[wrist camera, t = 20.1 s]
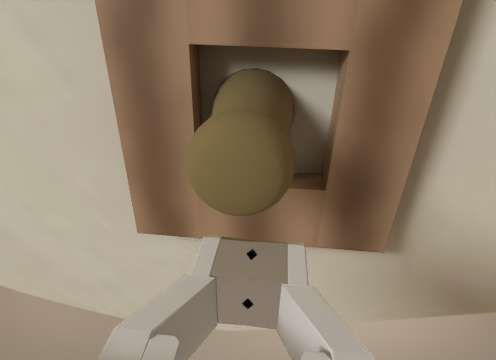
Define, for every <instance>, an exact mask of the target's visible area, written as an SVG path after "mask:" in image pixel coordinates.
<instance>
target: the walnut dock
mask: <svg viewBox="0 0 496 360" xmlns="http://www.w3.org/2000/svg"><path fill="white" fill-rule="evenodd" d="M462 2H463V0H95V4H96V10H97V15H98V20H99V26H100V31H101V37H102V42H103V48H104V53H105V58H106V64H107V69H108V75H109V80H110V85H111V91H112V96H113V102H114V107H115V113H116V118H117V123H118V129H119V134H120V140H121V145H122V151H123V156H124V161H125V167H126V172H127V178H128V183H129V189H130V194H131V199H132V205H133V210H134V216H135V221H136V227H137V232H138V233H144V234H156V235H169V236H181V237H194V238H203V237H204V236H205V235H210V236H219V237H231V238H240V239H250V240H260V241H273V242H286V243H287V242H291V243H304V245H305V246H307V247H319V248H332V249H344V250H357V251H369V252H382V253H384V251H385V248H386V244H387V241H388V238H389V235H390V232H391V228H392V225H393V222H394V219H395V216H396V212H397V209H398V206H399V203H400V200H401V197H402V193H403V190H404V187H405V184H406V181H407V177H408V174H409V171H410V168H411V165H412V162H413V158H414V155H415V152H416V149H417V146H418V142H419V139H420V136H421V133H422V130H423V126H424V123H425V120H426V117H427V114H428V111H429V107H430V104H431V101H432V98H433V95H434V91H435V88H436V85H437V82H438V79H439V75H440V72H441V69H442V66H443V63H444V60H445V56H446V53H447V50H448V47H449V44H450V40H451V37H452V34H453V31H454V28H455V24H456V21H457V18H458V15H459V12H460V9H461V5H462ZM198 44H200V45H226V46H252V47H277V48H303V49H328V50H342V53H341V60H340V66H339V72H338V78H337V85H336V91H335V97H334V103H333V109H332V116H331V122H330V128H329V134H328V140H327V147H326V153H325V159H324V165H323V172H322V175H320V174H305V173H294V175H293V178H292V181H291V184H290V187H289V189H288V191H287V192H286V193H285V195H284V196H283V197H282V198H281V200H280V201H279V202H278V203H276V204H275V205H273V206H272V207H270V208H269V209H267V210H266V211H263V212H260V213H257V214H254V215H250V216H233V215H228V214H224V213H221V212H219V211H217V210H215V209H213V208H211V207H209V206H208V205H207V204H206V203H205V202H204V201H203V200H202V199H201V198H200V197H199V196H198V195H197V194H196V192H195V191H194V189H193V187H192V186H191V184H190V182H189V179H188V175H187V170H186V158H187V150H188V145H189V143H190V141H191V139H192V138H193V136H194V134H195V132H196V131H197V129H198V128H199V127H200V126H201V125H202V111H201V90H200V69H199V47H198Z"/></svg>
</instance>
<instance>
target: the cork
mask: <svg viewBox="0 0 496 360" xmlns="http://www.w3.org/2000/svg"><path fill="white" fill-rule="evenodd" d="M294 114H295V112H294V100H293V97H292V94H291V91H290V89H289V88H288V86H287V85H286V84H285V83H284V82H283V80H282V79H281V78H279V77H278V76H276V75H275V74H273V73H271V72H270V71H266V70H262V69H258V68H253V69H243V70H240V71H238V72H236V73H234V74H232V75H230V76H229V77H228V78H227V79H226V80H225V81H224V82H223V83H222V84H221V85H220V87H219V89H218V91H217V93H216V95H215V99H214V105H213V110H212V115H211V117H210V118H209V119H208V120H207V121H205V122H204V123H203V124H202V125H201V126H200V127H199V128H198V129H197V131H196V132H195V134H194V136H193V138H192V139H191V141H190V143H189V145H188V150H187V158H186V170H187V175H188V179H189V182H190V184H191V186H192V187H193V189H194V191H195V192H196V194H197V195H198V196H199V197H200V198H201V199H202V200H203V201H204V202H205V203H206V204H207V205H208V206H209V207H211V208H213V209H215V210H217V211H219V212H221V213H224V214H228V215H233V216H250V215H254V214H257V213H260V212H263V211H266V210H267V209H269V208H270V207H272V206H273V205H275V204H276V203H278V202H279V201H280V200H281V198H282V197H283V196H284V195H285V193H286V192H287V191H288V189H289V187H290V184H291V181H292V178H293V175H294V172H295V165H294V150H293V148H292V145H291V143H290V140H289V138H288V134H289V131H290V128H291V124H292V121H293V118H294Z"/></svg>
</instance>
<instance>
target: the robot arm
mask: <svg viewBox="0 0 496 360" xmlns="http://www.w3.org/2000/svg"><path fill="white" fill-rule="evenodd" d="M217 323H222V324H235V325H247V326H255V327H262V328H270V329H277V332H278V334H279V336H280V338H281V340H282V341H283V343H284V346H285V347H286V349H287V351H288V353H289V355H290V357H291V358H292V360H375V358H374V356H373V355H372V354H371V353H370V352H369V350H367V348H366V347H365V346H364V345H363V343H362V342H361V341H360V340H359V339H358V338H357V336H356V335H355V334H354V333H353V332H352V331H351V329H349V327H348V326H347V325H346V324H345V322H344V321H343V320H342V319H341V318H340V317H339V315H338V314H337V313H336V312H335V311H334V310H333V308H332V307H331V306H330V305H329V304H328V303H327V301H326V300H325V299H324V298H323V297H322V296H321V294H320V293H319V292H318V291H317V290H316V289H315V287H312V286H309V285H308V273H307V261H306V249H305V245H304V243H291V242H287V243H286V242H273V241H260V240H250V239H240V238H231V237H219V236H210V235H205V236H204V237H203V239H202V242H201V245H200V248H199V251H198V253H197V256H196V259H195V262H194V265H193V268H192V271H191V274H190V275H186V274H185V275H184V276H182V277H181V278H180V279H178V280H177V281H176V282H174V283H173V284H172V285H170V286H169V287H168V288H166V289H165V290H164V291H162V292H161V293H160V294H158V295H157V296H156V297H154V298H153V299H152V300H150V301H149V302H148V303H146V304H145V305H144V306H142V307H141V308H140V309H138V310H137V311H136V312H134V313H133V314H132V315H130V316H129V317H128V318H126V319H125V320H124V321H122V322H121V323H120V324H118V325H117V326H116V327H115V328H114V329H113V331H112V333H111V335H110V337H109V339H108V341H107V342H106V344H105V346H104V348H103V350H102V352H101V354H100V356H99V358H98V360H188V359H189V357H190V356H191V355H192V354H193V353H194V352H195V351H196V349H197V348H198V347H199V346H200V345H201V343H202V342H203V341H204V340H205V339H206V338H207V337H208V335H209V334H210V333H211V332H212V331H213V329H214V328H215V327H216V326H217Z"/></svg>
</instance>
